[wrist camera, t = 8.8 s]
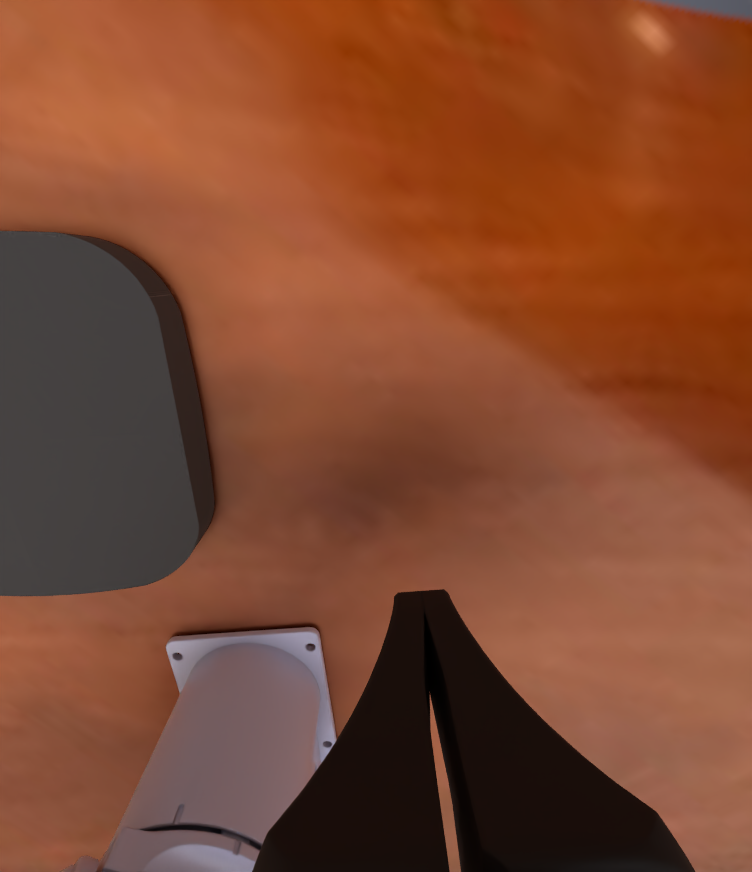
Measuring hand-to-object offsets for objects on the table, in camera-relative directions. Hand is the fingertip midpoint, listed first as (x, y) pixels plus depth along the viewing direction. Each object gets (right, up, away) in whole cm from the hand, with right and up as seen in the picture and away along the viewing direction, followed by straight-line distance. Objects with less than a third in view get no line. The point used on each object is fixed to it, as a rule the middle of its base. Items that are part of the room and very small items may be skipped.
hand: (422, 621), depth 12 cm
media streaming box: (-16, +6, +8) cm, 19 cm away
